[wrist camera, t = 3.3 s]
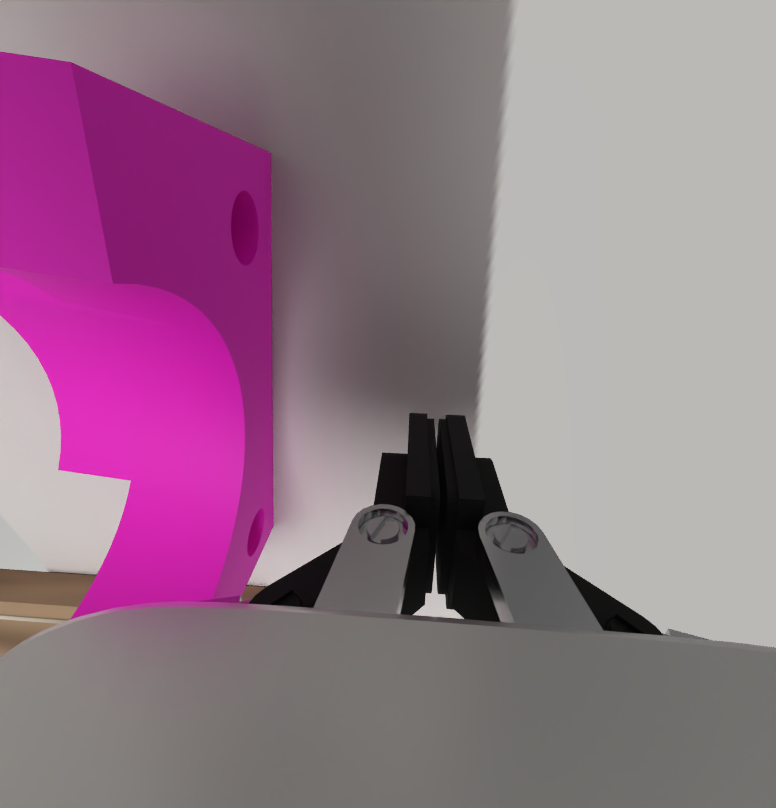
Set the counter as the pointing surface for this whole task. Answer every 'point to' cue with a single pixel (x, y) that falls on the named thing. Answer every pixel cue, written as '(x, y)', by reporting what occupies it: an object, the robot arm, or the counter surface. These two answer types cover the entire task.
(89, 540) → the counter surface
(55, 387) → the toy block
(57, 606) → the plank
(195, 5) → the counter surface
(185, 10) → the counter surface
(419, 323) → the counter surface
